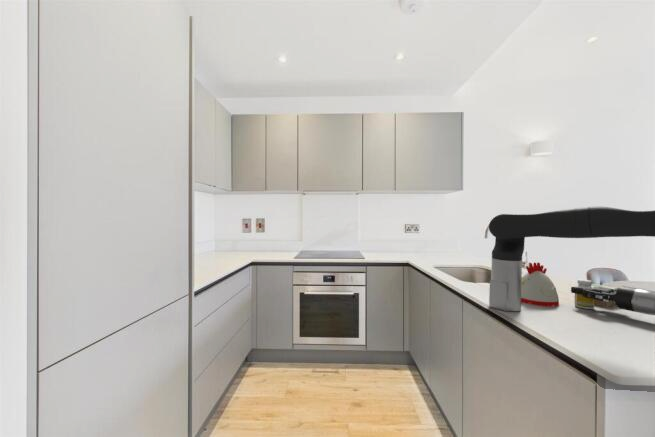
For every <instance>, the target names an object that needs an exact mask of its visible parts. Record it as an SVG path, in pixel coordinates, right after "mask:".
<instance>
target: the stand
mask: <svg viewBox="0 0 655 437" xmlns="http://www.w3.org/2000/svg"><path fill="white" fill-rule="evenodd" d="M591 287H597V288H598V287H603V288H609V289H616V290H617V289H618V288H619V287H614V286H613V287H611V286H607V285H600V284H595V283H592V285H591ZM594 305H597V306H602V307H607V308H609V307H612V306H616V303H615V301H610V302H607V301H604V300H603V301H599V300H595V299H594Z"/></svg>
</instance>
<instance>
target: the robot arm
mask: <svg viewBox="0 0 655 437" xmlns="http://www.w3.org/2000/svg"><path fill="white" fill-rule="evenodd" d="M488 230H489V232H490V234H491V235H492V236H494V237H495V238H494V239H495V242H494V247H493V248H492V252H491V268H490V269H491V271H490V272H491V273H490V275H491V277H490V278H491V279H489V296H488V299H489V300H488V303H489V304H488V306H489V307H491V308H493V309H497V310H500V311H504V312H520V311H521V310H522V302H521V284H522V277H523V274H522V272H523V254H524V251H525V242H526V240H525V238H533V237H534V238H536V237H545V238H560V239H562V238H563V239H591V238H594V239H596V238H625V237H654V238H655V210H630V209H622V208H617V207H608V206H585V207H581V206H580V207H572V208H571V207H570V208H565V209H558V210H551V211H544V212H539V213H533V214H532V213H530V214H523V213H522V214H521V213H520V214H516V213H515V214H513V213H501V214H498V215H496V216H494V217H493V218H492V219H491V220H490V222H489V224H488ZM593 288H594V289H592V290H591V289H583V288H578V287H575V286H571V288H570V292H571V294H574V295H575V294H580V295H583V297H586V298H590V299H595V300H599V301H603V300H604V301H607V302H610V301H615V303H616V305H615V306H616V307H617V308H618V309H620V310H625V311H629V312H634V313H639V314H643V315H647V316H648V315H649V316H655V291H653V290H650V289H644V288H643V289H641V288H636V287H630V286H624V285H621V286H618V287H617V288H618V289H617V290H616V289H609V288H603V287H598V288H597V287H593ZM588 292H589V293H590V295H588Z"/></svg>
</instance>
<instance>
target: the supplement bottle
mask: <svg viewBox="0 0 655 437" xmlns="http://www.w3.org/2000/svg"><path fill="white" fill-rule="evenodd" d="M592 284H593V281H592V280H589V279H580V278H579V279H578V278H577V284H576V285H575V286H574V287H578V288H583V289H591V290H592V289H594V288H593V287H591V285H592ZM588 295H590V293H589V292H588ZM574 307H577V308H581V309H587V310H593V309H595V304H594V299H590V298H586V297H583V295H580V294H575V293H574Z"/></svg>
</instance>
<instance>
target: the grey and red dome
mask: <svg viewBox="0 0 655 437" xmlns="http://www.w3.org/2000/svg"><path fill="white" fill-rule="evenodd" d="M540 263H541V262H533V263H531V262H529V263H528V264H529V265H526V266H525V268H526V269H525V270H526V271H527V273H526V274H524V275H522V284H521V303H524V304H527V305H528V304H529V305H532V306H537V307H538V306H539V307H557V306H559V303H560V302H559V294H558V291H557V288H556V286H555V284H554V282H553V281H552V280H551V278H550V277H549V276H548V275H547V274H546V273H547V271H548V270H547V269H548V268H545V267H544V265H541V264H540Z"/></svg>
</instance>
